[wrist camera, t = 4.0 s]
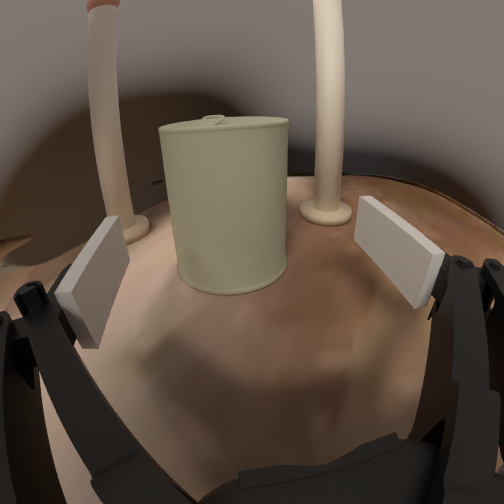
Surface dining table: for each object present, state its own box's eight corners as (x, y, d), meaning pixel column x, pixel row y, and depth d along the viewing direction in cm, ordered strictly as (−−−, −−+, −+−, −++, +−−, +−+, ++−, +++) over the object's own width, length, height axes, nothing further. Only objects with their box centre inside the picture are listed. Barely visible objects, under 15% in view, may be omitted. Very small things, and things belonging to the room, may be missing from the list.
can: (161, 290, 21) (132, 126, 15) (195, 235, 29) (183, 115, 23) (285, 299, 20) (290, 115, 14) (287, 238, 28) (289, 111, 22)
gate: (92, 249, 27) (67, -10, 13) (108, 225, 32) (88, 5, 18) (359, 224, 30) (362, -23, 16) (338, 204, 35) (339, -8, 21)
